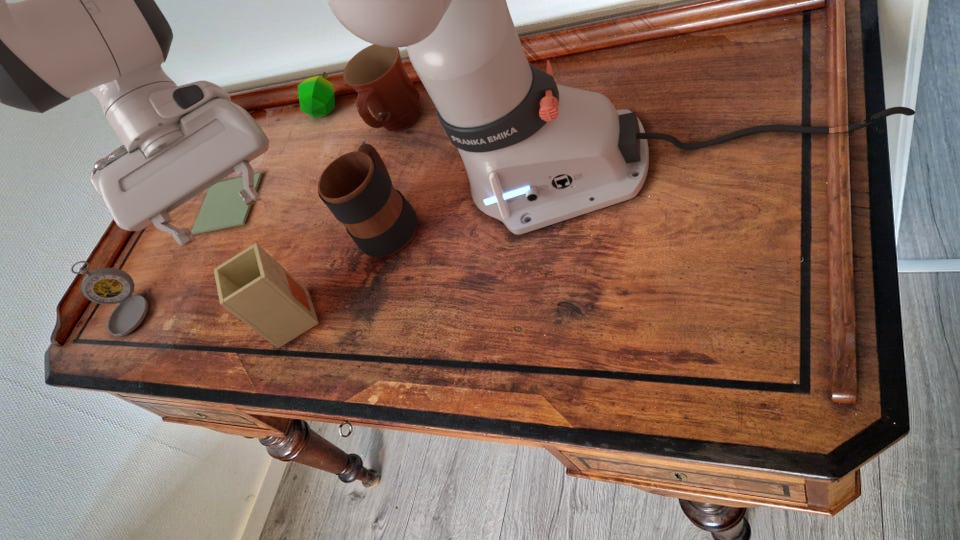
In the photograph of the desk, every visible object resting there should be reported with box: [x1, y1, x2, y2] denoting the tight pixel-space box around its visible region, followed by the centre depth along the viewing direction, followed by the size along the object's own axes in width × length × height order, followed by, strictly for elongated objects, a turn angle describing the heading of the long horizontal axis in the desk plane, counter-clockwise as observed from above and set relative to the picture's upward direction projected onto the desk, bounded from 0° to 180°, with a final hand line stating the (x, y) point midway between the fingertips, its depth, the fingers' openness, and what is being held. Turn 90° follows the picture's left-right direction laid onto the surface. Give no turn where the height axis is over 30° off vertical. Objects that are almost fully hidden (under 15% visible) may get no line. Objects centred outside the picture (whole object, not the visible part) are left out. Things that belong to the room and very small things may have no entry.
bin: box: [213, 242, 319, 349], centre depth 79 cm, size 6×6×11 cm
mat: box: [190, 172, 263, 236], centre depth 102 cm, size 10×10×1 cm
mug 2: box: [317, 142, 419, 258], centre depth 82 cm, size 9×12×12 cm
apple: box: [297, 71, 336, 119], centre depth 105 cm, size 7×6×9 cm
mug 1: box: [342, 44, 424, 132], centre depth 93 cm, size 12×9×10 cm
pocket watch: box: [70, 260, 149, 337], centre depth 92 cm, size 8×8×10 cm
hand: (221, 223), depth 79 cm, fingers open, 8 cm apart
